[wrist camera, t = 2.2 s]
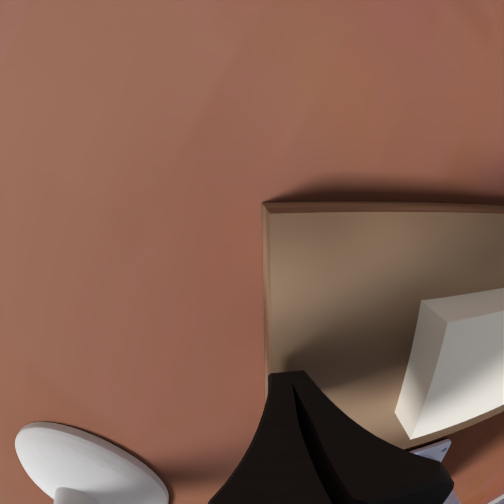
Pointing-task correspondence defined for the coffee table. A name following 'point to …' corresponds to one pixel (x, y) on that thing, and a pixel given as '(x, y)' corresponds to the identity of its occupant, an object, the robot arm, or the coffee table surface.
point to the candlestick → (85, 467)
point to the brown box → (369, 293)
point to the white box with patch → (454, 362)
